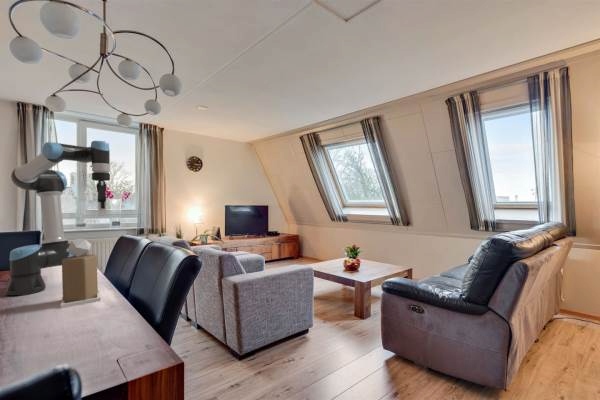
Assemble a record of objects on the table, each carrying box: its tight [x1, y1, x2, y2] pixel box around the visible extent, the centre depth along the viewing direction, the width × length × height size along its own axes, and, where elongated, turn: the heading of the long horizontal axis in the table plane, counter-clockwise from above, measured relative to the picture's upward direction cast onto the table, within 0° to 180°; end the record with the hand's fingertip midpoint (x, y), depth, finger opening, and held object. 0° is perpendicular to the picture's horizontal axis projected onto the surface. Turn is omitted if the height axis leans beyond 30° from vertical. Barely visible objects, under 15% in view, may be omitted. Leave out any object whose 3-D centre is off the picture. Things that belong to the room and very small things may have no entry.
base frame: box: [60, 290, 102, 309], centre depth 138 cm, size 14×14×2 cm
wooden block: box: [61, 253, 99, 303], centre depth 138 cm, size 10×10×20 cm
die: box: [67, 238, 92, 257], centre depth 138 cm, size 8×9×10 cm
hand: (102, 215), depth 150 cm, fingers open, 13 cm apart
